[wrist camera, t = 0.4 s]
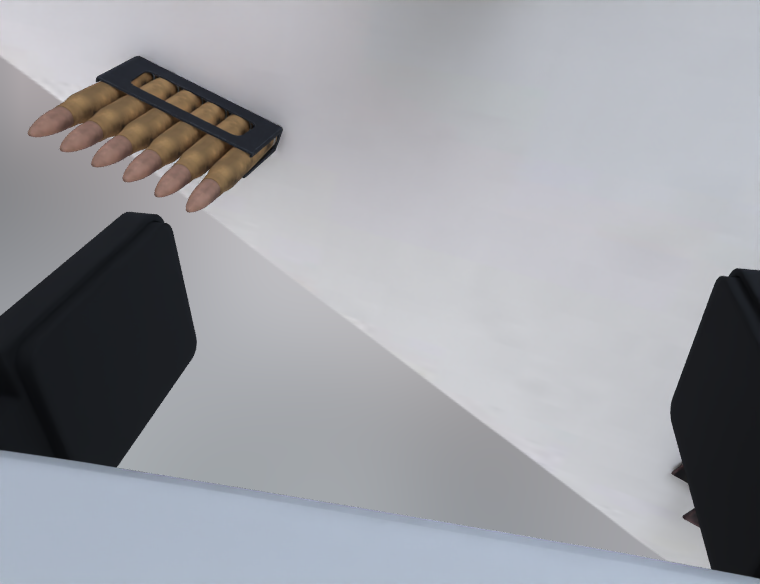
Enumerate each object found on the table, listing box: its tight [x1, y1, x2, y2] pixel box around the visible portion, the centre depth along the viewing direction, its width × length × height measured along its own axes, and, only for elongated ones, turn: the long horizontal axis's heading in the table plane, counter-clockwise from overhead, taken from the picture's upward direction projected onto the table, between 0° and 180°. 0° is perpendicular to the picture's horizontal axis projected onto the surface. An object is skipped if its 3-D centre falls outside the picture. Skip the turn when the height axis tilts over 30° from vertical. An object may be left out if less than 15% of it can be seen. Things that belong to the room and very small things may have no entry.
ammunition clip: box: [28, 56, 282, 212], centre depth 36 cm, size 11×2×12 cm, turn 66°
